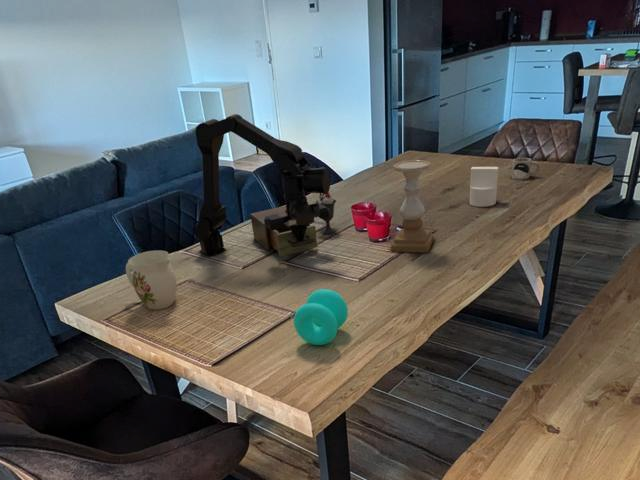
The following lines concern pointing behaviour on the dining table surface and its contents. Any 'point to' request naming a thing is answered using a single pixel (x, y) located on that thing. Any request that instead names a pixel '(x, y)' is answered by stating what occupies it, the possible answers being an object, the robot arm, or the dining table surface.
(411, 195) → the candle holder
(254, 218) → the cabinet
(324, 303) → the teal spool
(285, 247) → the drawer
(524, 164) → the mug
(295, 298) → the dining table surface
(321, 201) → the sundae
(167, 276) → the pitcher
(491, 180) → the cylinder with rectangular tab
